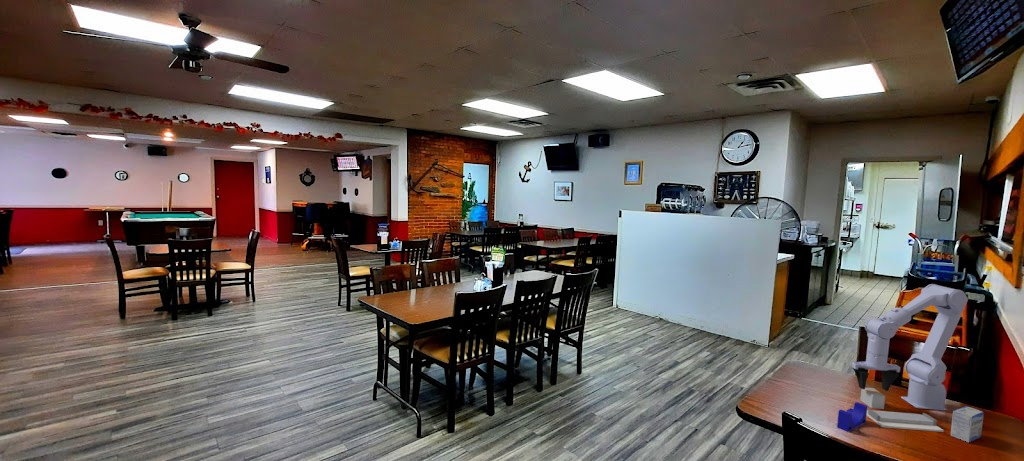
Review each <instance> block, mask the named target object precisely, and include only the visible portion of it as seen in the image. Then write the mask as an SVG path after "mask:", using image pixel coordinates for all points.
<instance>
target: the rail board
mask: <svg viewBox="0 0 1024 461" xmlns="http://www.w3.org/2000/svg"><path fill="white" fill-rule="evenodd" d="M866 417H869V419H871V420H872V421H874V423H876V424H877V425H879V427H881V428H885V429H886V428H888V429H901V430H912V431H913V430H915V431H927V432H928V431H929V432H939V433H940V432H941V433H944V432H945V431H944V429H942V428H941V427H940V426H938V425H937V419H935V418H934V417H933V416H931V415H929V414H927V413H925V412H922V414H921V413H912V412H900V411H899V412H895V411H884V410H883V411H882V410H873V409H872V408H867V415H866Z"/></svg>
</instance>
